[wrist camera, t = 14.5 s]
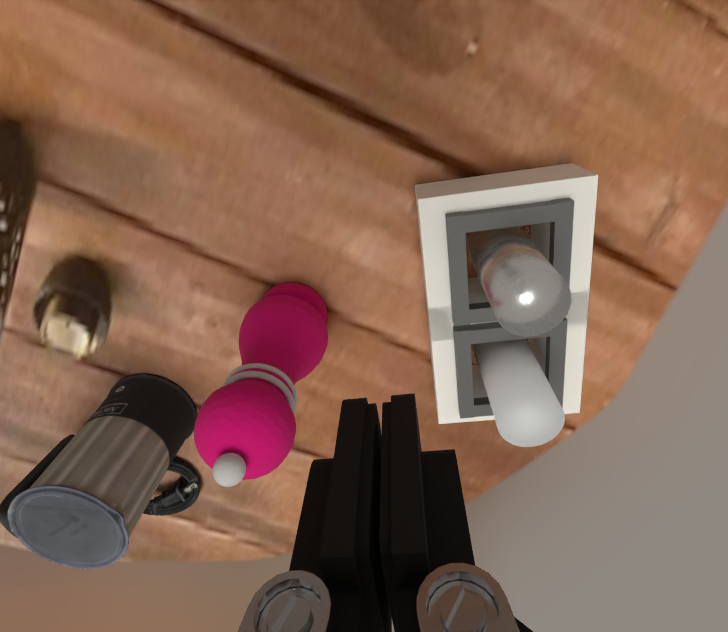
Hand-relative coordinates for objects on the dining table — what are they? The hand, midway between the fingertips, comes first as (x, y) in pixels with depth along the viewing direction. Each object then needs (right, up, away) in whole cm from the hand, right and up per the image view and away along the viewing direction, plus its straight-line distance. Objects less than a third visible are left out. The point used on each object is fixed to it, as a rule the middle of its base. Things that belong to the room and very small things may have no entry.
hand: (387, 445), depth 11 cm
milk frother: (-22, -10, +40) cm, 47 cm away
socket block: (+11, +5, +29) cm, 32 cm away
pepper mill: (-7, +3, +32) cm, 33 cm away
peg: (+10, +9, +27) cm, 31 cm away
